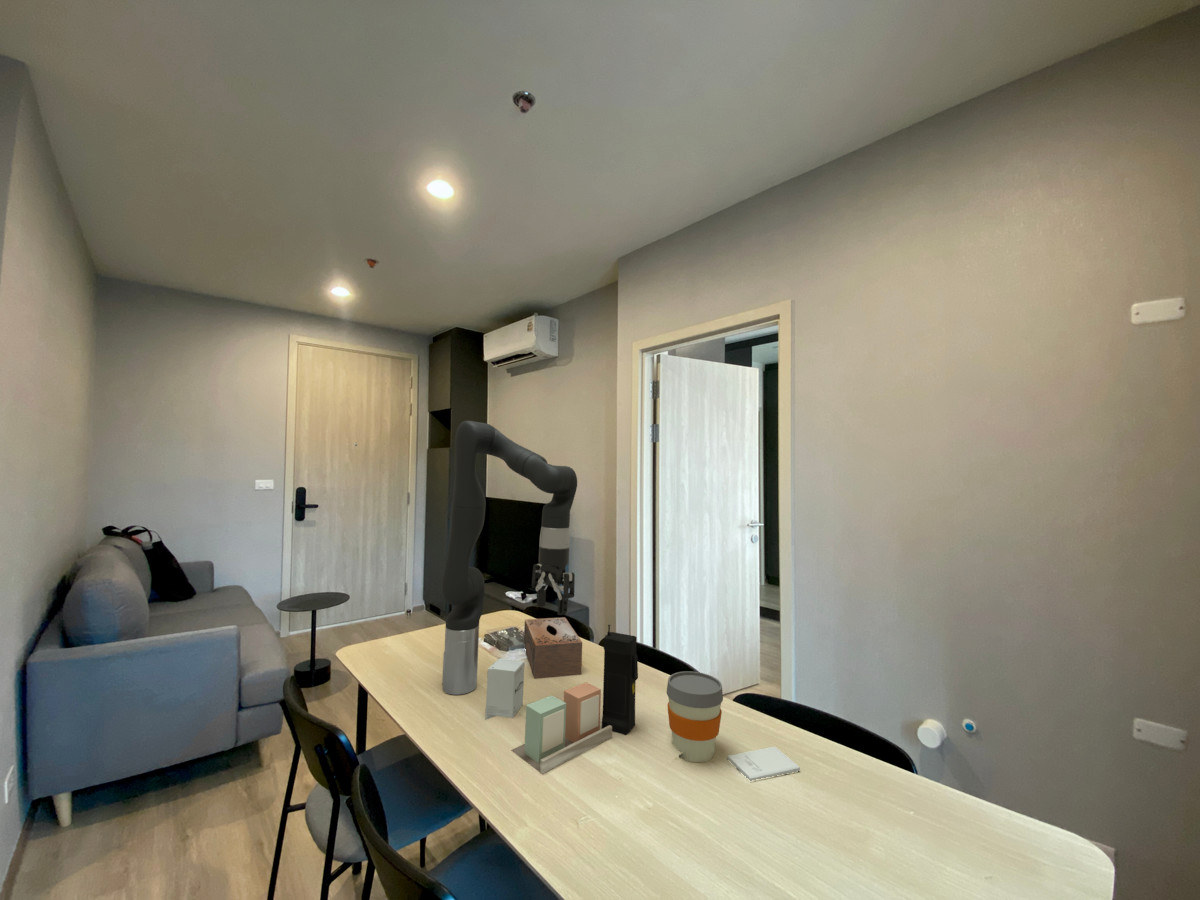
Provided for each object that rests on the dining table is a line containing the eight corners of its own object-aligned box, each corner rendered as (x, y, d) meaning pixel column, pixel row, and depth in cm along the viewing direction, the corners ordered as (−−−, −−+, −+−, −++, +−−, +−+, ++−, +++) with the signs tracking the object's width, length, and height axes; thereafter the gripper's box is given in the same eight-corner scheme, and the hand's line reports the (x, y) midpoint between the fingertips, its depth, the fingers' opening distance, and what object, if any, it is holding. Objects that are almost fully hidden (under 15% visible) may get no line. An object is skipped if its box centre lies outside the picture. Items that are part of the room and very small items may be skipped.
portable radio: (640, 730, 115) (642, 625, 116) (630, 743, 109) (633, 632, 111) (610, 722, 118) (613, 620, 119) (599, 734, 113) (603, 627, 114)
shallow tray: (510, 757, 103) (511, 738, 103) (579, 724, 117) (579, 708, 117) (542, 781, 95) (542, 761, 95) (611, 743, 109) (612, 726, 109)
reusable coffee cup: (711, 774, 99) (712, 700, 99) (656, 754, 105) (657, 685, 106) (729, 746, 109) (730, 679, 110) (678, 729, 116) (679, 666, 117)
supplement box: (512, 724, 116) (514, 671, 117) (484, 720, 117) (486, 668, 118) (523, 710, 123) (525, 660, 124) (496, 706, 125) (498, 657, 125)
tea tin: (524, 753, 102) (526, 705, 102) (550, 740, 107) (551, 695, 107) (539, 764, 98) (541, 714, 99) (565, 751, 103) (566, 703, 103)
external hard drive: (799, 774, 101) (750, 785, 97) (774, 752, 108) (726, 761, 104) (799, 766, 101) (750, 777, 97) (774, 745, 108) (727, 754, 104)
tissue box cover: (581, 675, 146) (582, 642, 146) (534, 679, 142) (535, 645, 142) (564, 645, 171) (565, 617, 171) (523, 648, 167) (524, 619, 167)
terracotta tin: (562, 735, 109) (563, 690, 110) (584, 724, 114) (586, 682, 114) (577, 745, 105) (579, 698, 106) (600, 733, 110) (601, 689, 111)
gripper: (584, 548, 117) (581, 614, 116) (549, 540, 127) (545, 601, 127) (560, 550, 112) (557, 620, 111) (525, 542, 122) (522, 605, 122)
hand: (551, 610), depth 119 cm, fingers open, 8 cm apart
